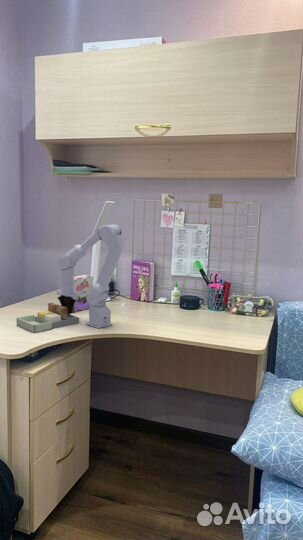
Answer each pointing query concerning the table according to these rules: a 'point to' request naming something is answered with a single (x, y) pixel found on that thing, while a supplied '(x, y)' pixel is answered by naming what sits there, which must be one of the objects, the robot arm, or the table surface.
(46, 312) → the tile mustard
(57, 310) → the scraper
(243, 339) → the table surface
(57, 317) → the tile ivory
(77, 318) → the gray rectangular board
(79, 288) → the candy box
